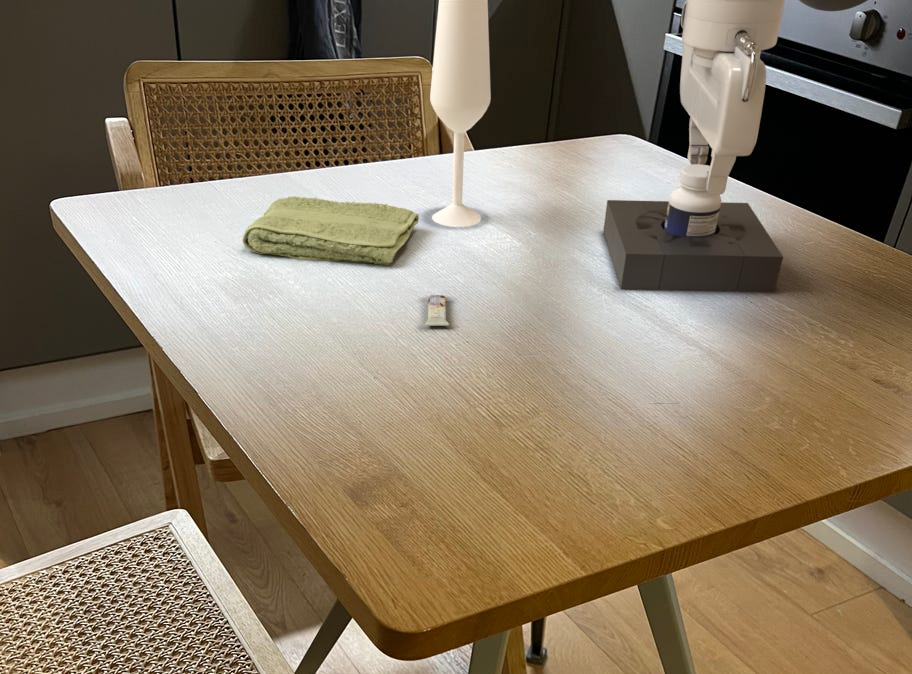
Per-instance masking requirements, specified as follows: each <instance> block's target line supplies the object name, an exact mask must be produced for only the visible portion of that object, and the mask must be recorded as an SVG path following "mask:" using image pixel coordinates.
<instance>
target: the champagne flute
mask: <svg viewBox="0 0 912 674" xmlns="http://www.w3.org/2000/svg"><path fill="white" fill-rule="evenodd" d="M436 17H437V18H436V28H435V29H436V30H435V38H434V50H433V59H432V60H433V62H432V69H431V71H432V72H431V83H430V92H429V93H430V94H429V99H430V101H429V102H430V104H431V107H432V109H433V111H434V112H435V114H436V115H437V117H438V118H439V119H440V121H442V123H443V124H444V125H445V126H446V128H448V129H449V130H450V131H452V132H453V163H452V192H451V193H452V194H451V196H452V197H451V199H452V201H451V203H450V204H448V205H447V206H445V207H444V208H441V209H440V210H439V211H437V212H435V213H434V214H433V215H432V217H431V218H432V221H433V222H435V223H437V224H438V225H442V226H445V227H453V228H465V227H470V226H474V225H477V224H479V223H480V222H481V221H482V217H481V216H480V215H479V214H478V213H477V212H476V211H474V210H472V209H471V208H469V207H468V206H466V205H465V204H463V187H464V161H465V160H464V158H465V133H466V132H468V131H469V130H470V129H472V128H473V126H475V125H476V123H478V122H479V121H480V120H481V119H482V118H483V116H484V115H485V113H486V112H487V111H488V108H489V106H490V104H491V99H492V98H491V94H492V93H491V66H490V65H491V64H490V35H489V34H490V32H489V30H490V29H489V3H488V0H438V7H437V16H436Z"/></svg>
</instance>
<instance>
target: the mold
mask: <svg viewBox="0 0 912 674" xmlns="http://www.w3.org/2000/svg"><path fill="white" fill-rule="evenodd" d="M668 203H669V200H628V199H627V200H623V199H622V200H621V199H608V200H606V206H605V216H604V222H603V230H602V231H603V232H602V235H603V238H604V241H605V245H606V247H607V251H608V255H609V257H610V260H611V263H612V266H613V269H614V273H615V276H616V279H617V281H618V282H617V283H618V286H619V289H620V290H621V291H622V290H623V291H669V292H670V291H671V292H672V291H673V292H676V291H677V292H716V293H717V292H718V293H719V292H723V293H725V292H726V293H764V294H765V293H767V294H768V293H769V294H774V293H775V290H776V287H777V283H778V279H779V275H780V272H781V268H782V264H783V261H784V256H783V254H782V252H781V251H780V250H779V248H778V247H777V245H776V244H775V242H774V241H773V239H772V238H771V236H770V235H769V233H768V232H767V229H766V228H765V227H764V225H763V224H762V222H761V221H760V219H759V218H758V216H757V215H756V213H755V212H754V210H753V209H752V207H751V205H750V204H749V203H748V202H726V201H725V202H723V201H721V206H720V211H719V216H718V220H717V225H716V230H715V235H714V236H710V237H704V238H689V237H683V236H678V235H675V234H672V233H669V232H667V231H665V230H664V226H665V220H666V215H667V209H668Z"/></svg>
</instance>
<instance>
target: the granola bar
mask: <svg viewBox="0 0 912 674" xmlns="http://www.w3.org/2000/svg"><path fill="white" fill-rule="evenodd" d="M449 298H450V297H447V296H445V295H441V294H430V295H428V296H427V297H426V300H427V301H428V302H427V321H426V322H425V323H424V326H429V327H433V326H435V327H436V326H437V327H445V326H450V322H448V321H447V305H446V304H447V303H446V302H447V301H448V300H449Z"/></svg>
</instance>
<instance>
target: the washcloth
mask: <svg viewBox="0 0 912 674" xmlns="http://www.w3.org/2000/svg"><path fill="white" fill-rule="evenodd" d="M419 220H420V217H419V213H415V212H414V211H413V210H410V209H408V208H404V207H398V206H394V205H388V203H386V204H383V203H376V202H355V201H351V202H350V201H347V200H346V201H336V200H335V201H333V200H329V199H323V198H317V197H305V196H303V197H300V196H297V195H296V196H295V195H294V196H288V197H282V198H278V199H276V200H275V201H273V202H272V203H271V204H270V205H269V207H268V208H267V209H266V211H265V212H264V213H263V215H262V216H261V217H259V218H257V219H256V220H255V221H253V223H251V224H249V226H247V228H246V229H245V230H244V234H243V235H242V243H243V246H244V247H245V248H246V249H247V250H248V251H251V252H253V253H255V254H258V255H262V254H263V255H275V256H281V257H287V258H289V259H297V260H306V261H330V262H345V263H363V264H364V263H365V264H370V263H371V264H372V263H373V264H374V265H380V266H384V265H385V266H390V265H392V264H391V263H393V262H394V258H395V256H396V254H397V252H398V251H399V250H400V249H401V248H402V247H403V246H404V245H405V244H406V242H407V241H408V239H409V238H410V235H411V233H412V231H413V230H414V229H415V228H414V227H415V226H416V225H418V223H419Z"/></svg>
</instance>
